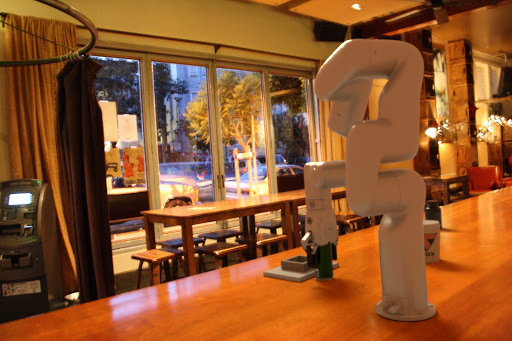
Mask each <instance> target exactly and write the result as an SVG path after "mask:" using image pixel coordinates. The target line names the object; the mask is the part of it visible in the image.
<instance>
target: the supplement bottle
mask: <svg viewBox="0 0 512 341" xmlns="http://www.w3.org/2000/svg"><path fill="white" fill-rule="evenodd" d="M439 204H440V203H439V200H433V199H432V200H425V205H426V206H425V207H424V220H433V221H438V222H439V224H440V230H441V229H442V228H443V218H442V216H443V215H442V208H441V207H440V206H439Z"/></svg>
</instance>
